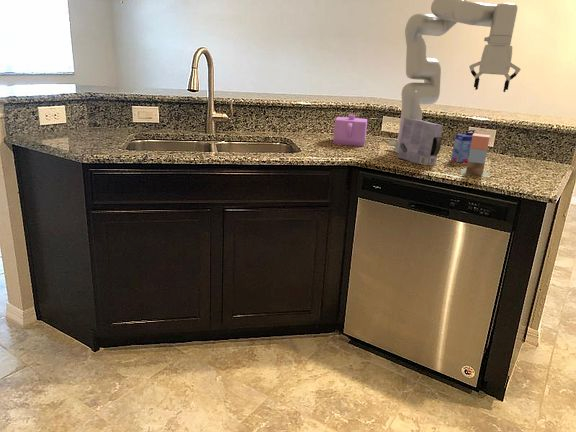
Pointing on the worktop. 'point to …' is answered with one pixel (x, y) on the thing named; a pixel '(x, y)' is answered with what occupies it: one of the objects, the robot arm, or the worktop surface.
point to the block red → (480, 141)
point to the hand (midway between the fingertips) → (490, 90)
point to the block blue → (477, 156)
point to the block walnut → (475, 168)
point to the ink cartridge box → (462, 147)
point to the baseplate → (475, 175)
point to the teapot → (350, 131)
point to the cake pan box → (420, 141)
